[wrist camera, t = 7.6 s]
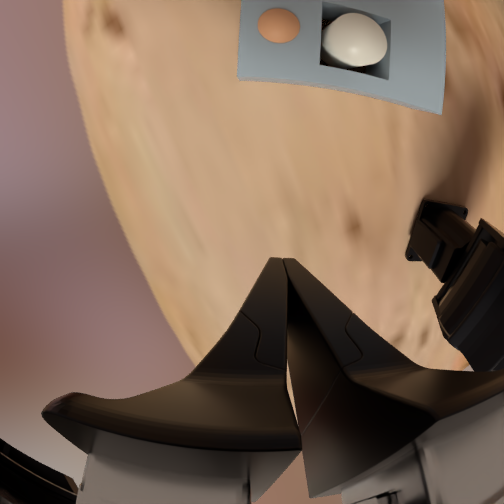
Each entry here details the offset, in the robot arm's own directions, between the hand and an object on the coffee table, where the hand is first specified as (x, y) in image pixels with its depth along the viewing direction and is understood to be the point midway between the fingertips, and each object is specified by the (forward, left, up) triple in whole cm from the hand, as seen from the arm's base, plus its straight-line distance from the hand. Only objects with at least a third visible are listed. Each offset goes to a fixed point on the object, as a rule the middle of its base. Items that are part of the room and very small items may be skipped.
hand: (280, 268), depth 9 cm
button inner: (-5, -10, -13) cm, 17 cm away
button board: (-5, -17, -13) cm, 22 cm away
